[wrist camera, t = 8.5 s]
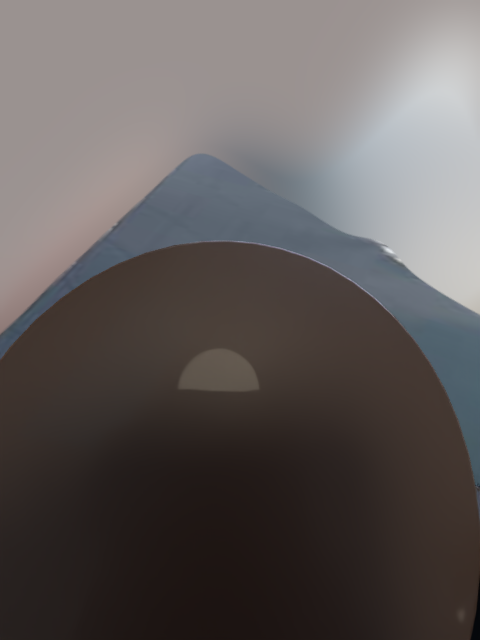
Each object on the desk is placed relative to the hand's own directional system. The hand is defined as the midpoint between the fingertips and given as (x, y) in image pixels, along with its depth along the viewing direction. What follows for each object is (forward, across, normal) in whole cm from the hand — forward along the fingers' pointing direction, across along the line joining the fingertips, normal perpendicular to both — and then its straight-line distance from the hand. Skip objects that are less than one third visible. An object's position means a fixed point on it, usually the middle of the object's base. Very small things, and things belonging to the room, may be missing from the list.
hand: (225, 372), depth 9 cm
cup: (+4, 0, +6) cm, 7 cm away
